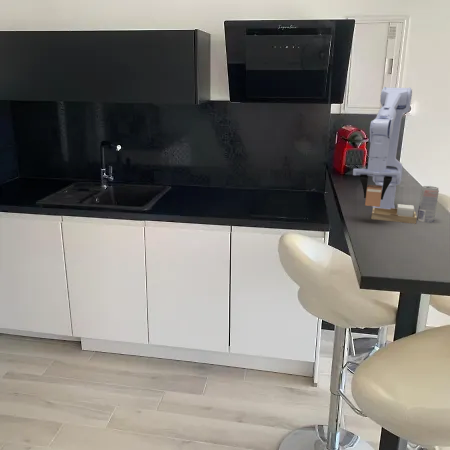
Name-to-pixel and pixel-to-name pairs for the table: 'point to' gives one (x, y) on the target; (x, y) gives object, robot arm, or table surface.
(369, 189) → the brown cardboard box
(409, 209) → the white foam cube
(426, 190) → the energy drink
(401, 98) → the robot arm
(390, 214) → the light wooden tray
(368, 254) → the table surface
